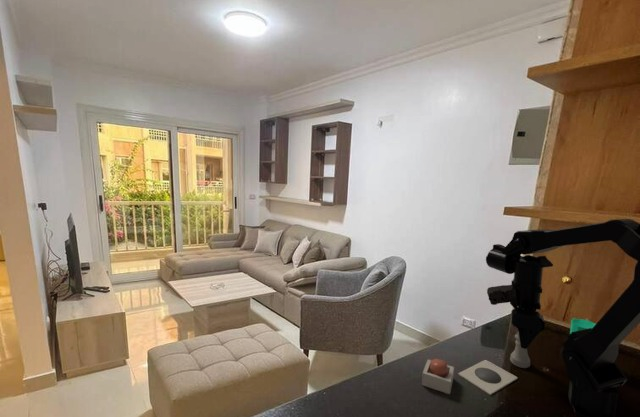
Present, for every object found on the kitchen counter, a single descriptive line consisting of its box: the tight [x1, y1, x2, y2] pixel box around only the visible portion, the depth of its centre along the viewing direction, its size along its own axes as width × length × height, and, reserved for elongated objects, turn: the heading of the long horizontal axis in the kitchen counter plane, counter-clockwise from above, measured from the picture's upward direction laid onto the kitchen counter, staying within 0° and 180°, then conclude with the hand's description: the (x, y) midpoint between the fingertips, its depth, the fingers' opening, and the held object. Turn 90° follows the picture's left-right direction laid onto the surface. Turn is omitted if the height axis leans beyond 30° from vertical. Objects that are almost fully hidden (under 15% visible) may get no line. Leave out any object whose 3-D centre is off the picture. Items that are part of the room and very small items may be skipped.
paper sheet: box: [457, 359, 518, 396], centre depth 74 cm, size 11×8×1 cm
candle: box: [569, 317, 597, 335], centre depth 79 cm, size 6×6×12 cm
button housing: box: [421, 358, 455, 395], centre depth 72 cm, size 6×6×3 cm
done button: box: [430, 358, 448, 378], centre depth 72 cm, size 4×4×2 cm
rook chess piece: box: [509, 331, 531, 369], centre depth 78 cm, size 4×4×8 cm
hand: (522, 339), depth 78 cm, fingers open, 9 cm apart
